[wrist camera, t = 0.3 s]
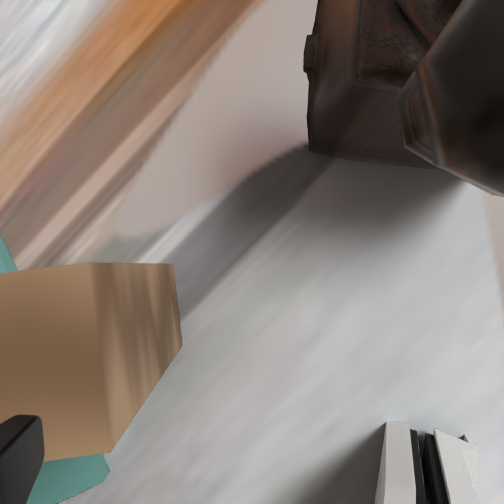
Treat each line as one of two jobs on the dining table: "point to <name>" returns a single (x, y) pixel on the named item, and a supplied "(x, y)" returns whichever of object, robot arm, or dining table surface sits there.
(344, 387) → the dining table surface
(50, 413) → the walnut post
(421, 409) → the dining table surface
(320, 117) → the dark brown wooden block
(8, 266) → the well
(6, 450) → the robot arm
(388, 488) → the grey curved block
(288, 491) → the dining table surface
